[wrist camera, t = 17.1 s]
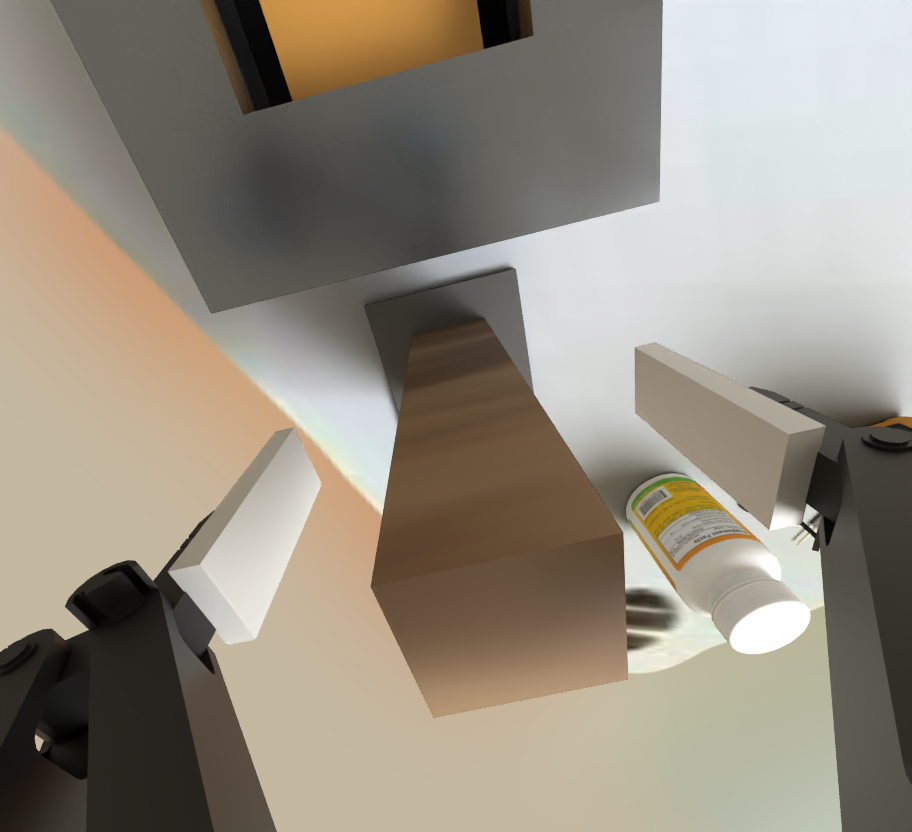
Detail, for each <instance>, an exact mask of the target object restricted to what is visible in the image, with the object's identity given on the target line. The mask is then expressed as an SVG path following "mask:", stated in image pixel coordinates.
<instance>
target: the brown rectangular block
mask: <svg viewBox="0 0 912 832" xmlns="http://www.w3.org/2000/svg"><path fill="white" fill-rule="evenodd" d="M371 588H372V590H373V592H374V594H375V597H376V599H377V601H378V603H379V605H380V607H381V609H382V611H383V613H384V615H385V618H386V620H387V622H388V624H389V626H390V628H391V630H392V632H393V634H394V636H395V638H396V640H397V643H398V645H399V646H400V649H401V651H402V653H403V655H404V657H405V659H406V661H407V663H408V665H409V668H410V670H411V672H412V674H413V676H414V678H415V680H416V682H417V684H418V687H419V689H420V691H421V693H422V695H423V697H424V699H425V701H426V703H427V705H428V707H429V709H430V712H431V714H432V716H433V718H436V717H441V716H446V715H451V714H456V713H461V712H466V711H471V710H476V709H481V708H486V707H491V706H496V705H501V704H506V703H512V702H516V701H522V700H527V699H532V698H537V697H542V696H547V695H551V694H557V693H562V692H567V691H572V690H577V689H582V688H587V687H592V686H597V685H602V684H607V683H612V682H618V681H623V680H628V662H627V632H626V602H625V571H624V541H623V531H622V530H621V528H620V527H619V525H618V524H617V522H616V521H615V519H614V517H613V516H612V514H611V513H610V511H609V510H608V508H607V507H606V505H605V503H604V502H603V500H602V499H601V497H600V496H599V494H598V493H597V491H596V490H595V488H594V486H593V485H592V483H591V482H590V480H589V479H588V477H587V476H586V474H585V472H584V471H583V469H582V468H581V466H580V465H579V463H578V462H577V460H576V459H575V457H574V455H573V454H572V452H571V451H570V449H569V448H568V446H567V445H566V443H565V441H564V440H563V438H562V437H561V435H560V434H559V432H558V431H557V429H556V428H555V426H554V424H553V423H552V421H551V420H550V418H549V417H548V415H547V414H546V412H545V410H544V409H543V407H542V406H541V404H540V403H539V401H538V400H537V398H536V397H535V395H534V393H533V392H532V390H531V389H530V387H529V386H528V384H527V383H526V381H525V379H524V378H523V376H522V375H521V373H520V372H519V370H518V369H517V367H516V366H515V364H514V362H513V361H512V359H511V358H510V356H509V355H508V353H507V352H506V350H505V348H504V347H503V345H502V344H501V342H500V341H499V339H498V338H497V336H496V335H495V333H494V331H493V330H492V328H491V327H490V325H489V324H488V322H487V321H486V319H485V318H482V319H478V320H474V321H470V322H466V323H462V324H457V325H453V326H449V327H445V328H441V329H437V330H433V331H429V332H424V333H420V334H416V335H412V340H411V346H410V352H409V358H408V364H407V370H406V376H405V382H404V388H403V394H402V400H401V406H400V413H399V419H398V425H397V431H396V437H395V443H394V449H393V455H392V461H391V467H390V473H389V479H388V485H387V491H386V497H385V503H384V509H383V515H382V521H381V528H380V534H379V540H378V546H377V552H376V558H375V564H374V570H373V576H372V582H371Z"/></svg>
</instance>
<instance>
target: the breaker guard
mask: <svg viewBox="0 0 912 832" xmlns="http://www.w3.org/2000/svg"><path fill="white" fill-rule="evenodd" d="M51 2H52V4H53V6H54V8H55V10H56V12H57V13H58V15H59V17H60V19H61V21H62V23H63V25H64V27H65V29H66V31H67V33H68V35H69V37H70V39H71V41H72V43H73V45H74V47H75V49H76V51H77V52H78V54H79V56H80V58H81V60H82V62H83V64H84V66H85V68H86V70H87V72H88V74H89V76H90V78H91V80H92V82H93V84H94V86H95V88H96V90H97V91H98V93H99V95H100V97H101V99H102V101H103V103H104V105H105V107H106V109H107V111H108V113H109V115H110V117H111V119H112V121H113V123H114V125H115V127H116V129H117V131H118V132H119V134H120V136H121V138H122V140H123V142H124V144H125V146H126V148H127V150H128V152H129V154H130V156H131V158H132V160H133V162H134V164H135V166H136V168H137V170H138V171H139V173H140V175H141V177H142V179H143V181H144V183H145V185H146V187H147V189H148V191H149V193H150V195H151V197H152V199H153V201H154V203H155V205H156V207H157V209H158V210H159V212H160V214H161V216H162V218H163V220H164V222H165V224H166V226H167V228H168V230H169V232H170V234H171V236H172V238H173V240H174V242H175V244H176V246H177V248H178V249H179V251H180V253H181V255H182V257H183V259H184V261H185V263H186V265H187V267H188V269H189V271H190V273H191V275H192V277H193V279H194V281H195V283H196V285H197V287H198V289H199V290H200V292H201V294H202V296H203V298H204V300H205V302H206V304H207V306H208V308H209V310H210V312H211V314H212V313H215V312H219V311H223V310H227V309H231V308H235V307H239V306H243V305H247V304H251V303H255V302H259V301H263V300H267V299H271V298H275V297H279V296H283V295H287V294H291V293H295V292H299V291H303V290H307V289H311V288H315V287H319V286H323V285H327V284H331V283H335V282H339V281H343V280H347V279H351V278H355V277H359V276H363V275H367V274H371V273H375V272H379V271H383V270H387V269H391V268H395V267H399V266H403V265H407V264H411V263H415V262H419V261H423V260H427V259H431V258H435V257H439V256H443V255H447V254H451V253H455V252H459V251H463V250H467V249H471V248H475V247H479V246H483V245H487V244H491V243H495V242H499V241H503V240H507V239H511V238H515V237H519V236H523V235H527V234H531V233H535V232H539V231H543V230H547V229H551V228H555V227H559V226H563V225H567V224H571V223H575V222H579V221H583V220H587V219H591V218H595V217H599V216H603V215H607V214H611V213H615V212H619V211H623V210H627V209H631V208H635V207H639V206H643V205H647V204H651V203H655V202H659V192H660V130H661V69H662V7H663V0H506V7H507V16H508V24H509V33H510V41H511V42H509V43H505V44H501V45H498V46H494V47H490V48H487V49H483V50H479V51H476V52H472V53H468V54H465V55H461V56H457V57H454V58H450V59H446V60H443V61H439V62H435V63H432V64H428V65H424V66H421V67H417V68H413V69H410V70H406V71H402V72H399V73H395V74H391V75H388V76H384V77H380V78H377V79H373V80H369V81H366V82H362V83H358V84H355V85H351V86H347V87H344V88H340V89H336V90H333V91H329V92H325V93H322V94H318V95H314V96H311V97H307V98H303V99H300V100H296V101H292V102H289V103H285V104H281V105H278V106H274V107H271V105H270V102H269V100H268V97H267V94H266V91H265V88H264V85H263V83H262V80H261V77H260V74H259V71H258V69H257V66H256V63H255V60H254V57H253V54H252V52H251V49H250V46H249V43H248V40H247V38H246V35H245V32H244V29H243V26H242V23H241V21H240V18H239V15H238V12H237V9H236V7H235V4H234V1H233V0H51Z"/></svg>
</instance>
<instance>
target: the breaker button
mask: <svg viewBox="0 0 912 832" xmlns="http://www.w3.org/2000/svg"><path fill="white" fill-rule="evenodd" d="M259 1H260V4H261V7H262V10H263V13H264V16H265V19H266V22H267V26H268V29H269V32H270V35H271V38H272V41H273V44H274V47H275V50H276V53H277V56H278V59H279V62H280V65H281V68H282V71H283V74H284V77H285V80H286V83H287V86H288V89H289V92H290V95H291V98H292V101H296V100H300V99H303V98H307V97H311V96H314V95H318V94H322V93H325V92H329V91H333V90H336V89H340V88H344V87H347V86H351V85H355V84H358V83H362V82H366V81H369V80H373V79H377V78H380V77H384V76H388V75H391V74H395V73H399V72H402V71H406V70H410V69H413V68H417V67H421V66H424V65H428V64H432V63H435V62H439V61H443V60H446V59H450V58H454V57H457V56H461V55H465V54H468V53H472V52H476V51H479V50H483V49H484V47H483V40H482V33H481V26H480V19H479V13H478V6H477V0H259Z"/></svg>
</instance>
